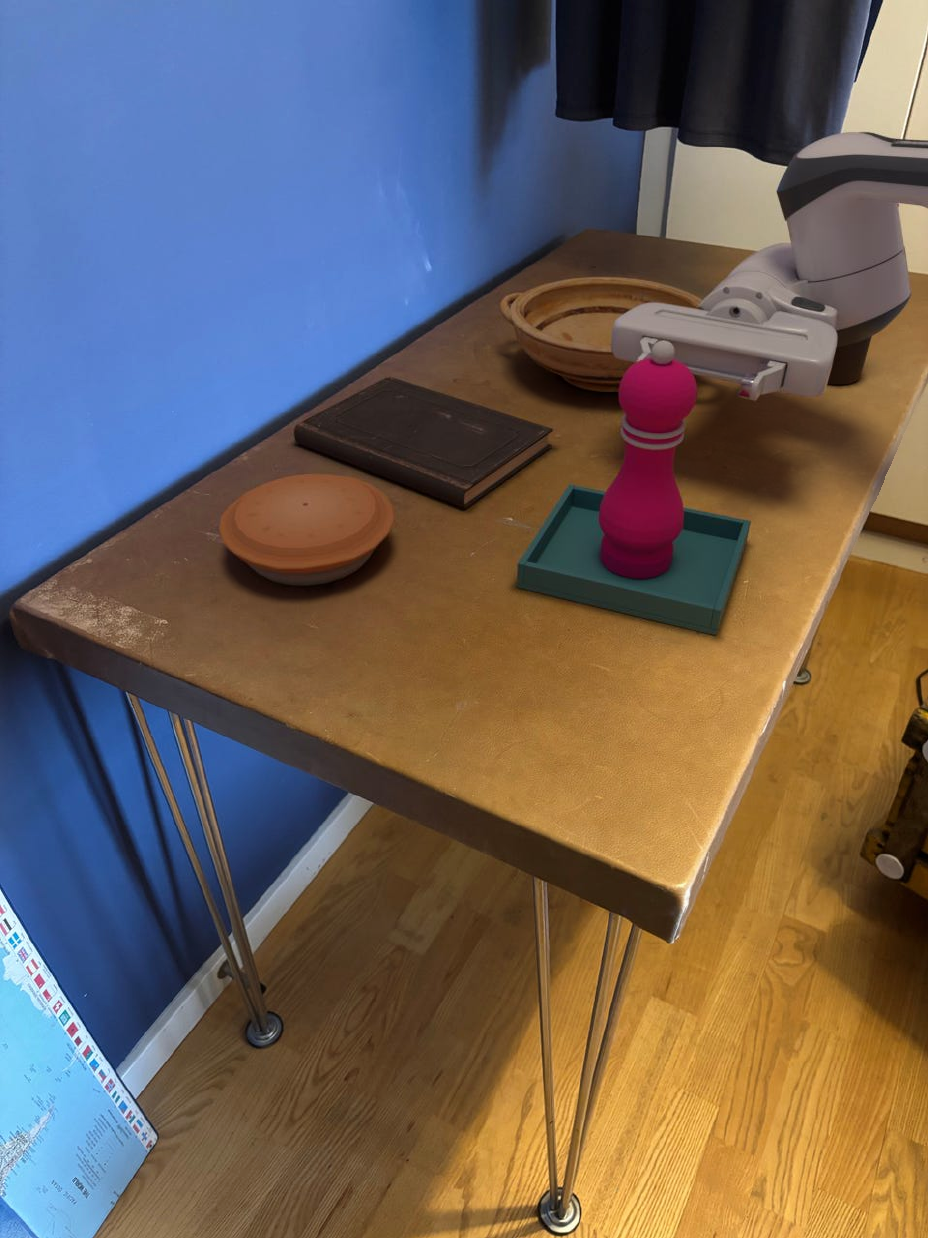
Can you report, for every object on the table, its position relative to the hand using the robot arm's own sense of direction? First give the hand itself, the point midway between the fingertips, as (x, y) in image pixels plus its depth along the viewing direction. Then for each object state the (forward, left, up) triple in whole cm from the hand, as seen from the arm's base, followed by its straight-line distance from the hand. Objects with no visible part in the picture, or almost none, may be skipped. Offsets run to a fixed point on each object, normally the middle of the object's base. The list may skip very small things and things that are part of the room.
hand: (694, 380), depth 80 cm
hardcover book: (+28, -3, -14) cm, 32 cm away
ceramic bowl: (+15, -29, -14) cm, 36 cm away
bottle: (-11, -39, -14) cm, 43 cm away
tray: (+1, +10, -14) cm, 17 cm away
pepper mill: (+1, +10, -13) cm, 16 cm away
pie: (+29, +19, -14) cm, 37 cm away
